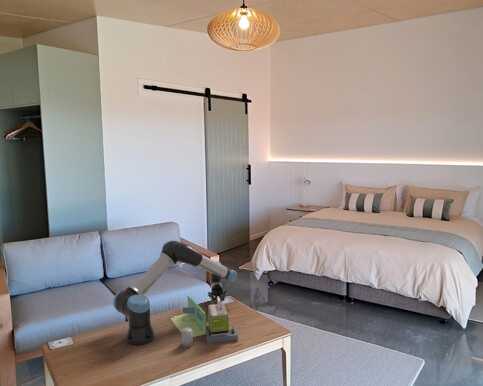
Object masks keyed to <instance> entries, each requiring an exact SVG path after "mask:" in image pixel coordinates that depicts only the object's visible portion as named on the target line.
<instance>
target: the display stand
mask: <svg viewBox="0 0 483 386" xmlns="http://www.w3.org/2000/svg"><path fill="white" fill-rule="evenodd" d="M186 297H187V307H185V306H184V307H182V314H179V315H175V316H173V317H174V318H170V320H171V321H172V322H173V324H174V325H175V327H176V328H177V329H178V331H179V332H180V333H181V330H182V329H183V328H192V331H193V338H195V337H199V336H203V335H206V326H207V316H206V315H207V313H206V312H205V311H204V310H203V309H202V308H201V307H200V306H199V305H198V303H196V302H195V301H194V300H193V299H192V298H191V296H190V295H188V294H187V296H186Z"/></svg>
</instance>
